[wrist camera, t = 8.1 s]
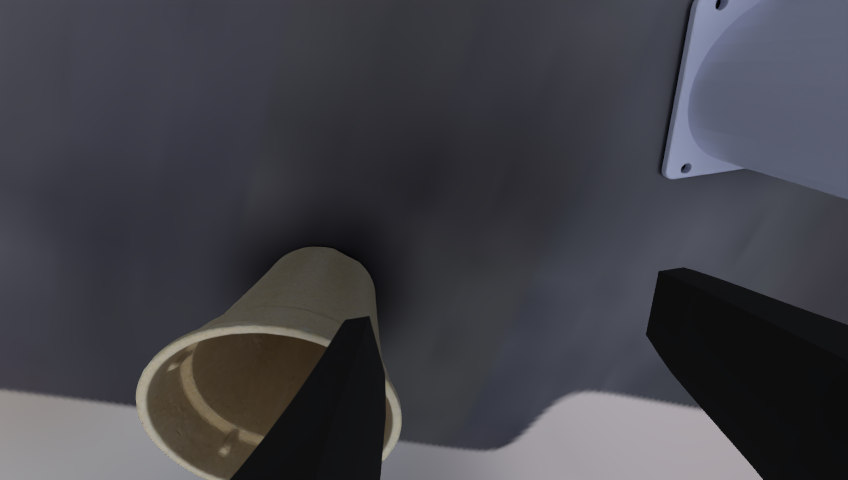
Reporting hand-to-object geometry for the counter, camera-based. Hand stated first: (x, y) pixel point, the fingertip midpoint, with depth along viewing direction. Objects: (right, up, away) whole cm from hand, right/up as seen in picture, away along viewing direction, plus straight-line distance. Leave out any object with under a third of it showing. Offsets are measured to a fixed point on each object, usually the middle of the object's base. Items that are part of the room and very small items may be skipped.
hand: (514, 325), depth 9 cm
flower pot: (-8, -1, +12) cm, 14 cm away
